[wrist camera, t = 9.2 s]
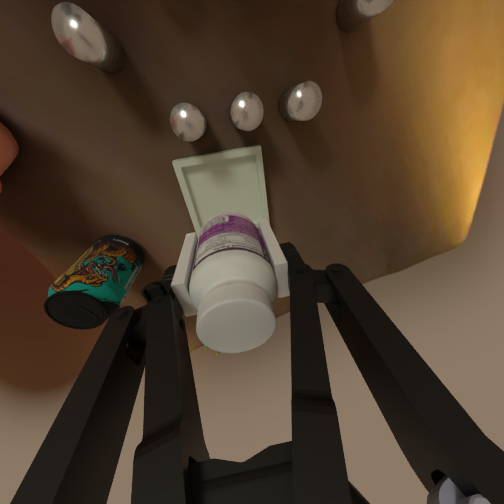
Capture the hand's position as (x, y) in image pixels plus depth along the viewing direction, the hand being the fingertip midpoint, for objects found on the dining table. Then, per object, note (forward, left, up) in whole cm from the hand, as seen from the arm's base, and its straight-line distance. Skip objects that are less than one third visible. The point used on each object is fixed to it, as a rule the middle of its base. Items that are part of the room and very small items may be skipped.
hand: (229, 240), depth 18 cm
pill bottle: (0, 0, 0) cm, 0 cm away
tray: (0, 0, -13) cm, 13 cm away
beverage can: (-18, -6, -14) cm, 23 cm away
